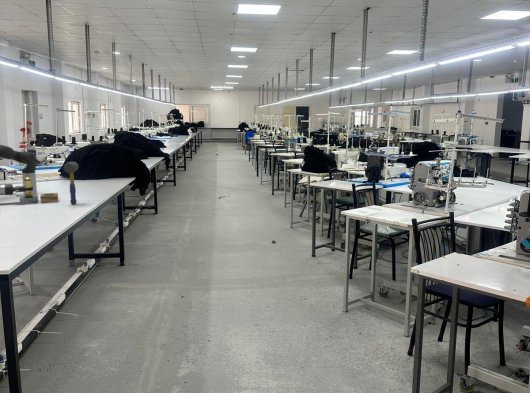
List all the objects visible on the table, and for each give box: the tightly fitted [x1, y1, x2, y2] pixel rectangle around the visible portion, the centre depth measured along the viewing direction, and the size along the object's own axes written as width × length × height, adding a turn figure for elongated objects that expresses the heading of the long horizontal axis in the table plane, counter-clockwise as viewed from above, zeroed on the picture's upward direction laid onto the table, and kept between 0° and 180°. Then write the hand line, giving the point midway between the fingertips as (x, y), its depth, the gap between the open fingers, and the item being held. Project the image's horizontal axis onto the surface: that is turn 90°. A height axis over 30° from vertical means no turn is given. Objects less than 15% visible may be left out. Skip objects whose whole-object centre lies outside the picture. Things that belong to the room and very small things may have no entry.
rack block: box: [40, 192, 59, 204], centre depth 311 cm, size 12×11×5 cm
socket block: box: [18, 194, 40, 205], centre depth 306 cm, size 12×11×4 cm
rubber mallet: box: [63, 161, 79, 206], centre depth 300 cm, size 12×8×30 cm, turn 9°
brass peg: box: [24, 177, 33, 198], centre depth 305 cm, size 4×4×18 cm
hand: (32, 188), depth 306 cm, fingers open, 4 cm apart
